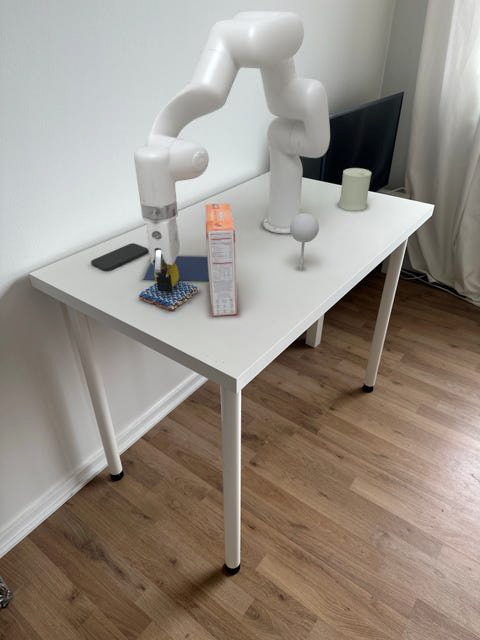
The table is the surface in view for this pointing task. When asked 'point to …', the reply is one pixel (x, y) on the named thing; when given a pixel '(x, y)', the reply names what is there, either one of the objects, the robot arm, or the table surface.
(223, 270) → the cracker box
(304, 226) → the lollipop
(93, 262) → the phone
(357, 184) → the can
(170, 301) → the woven mat
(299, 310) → the table surface
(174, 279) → the lemon
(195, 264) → the cloth
